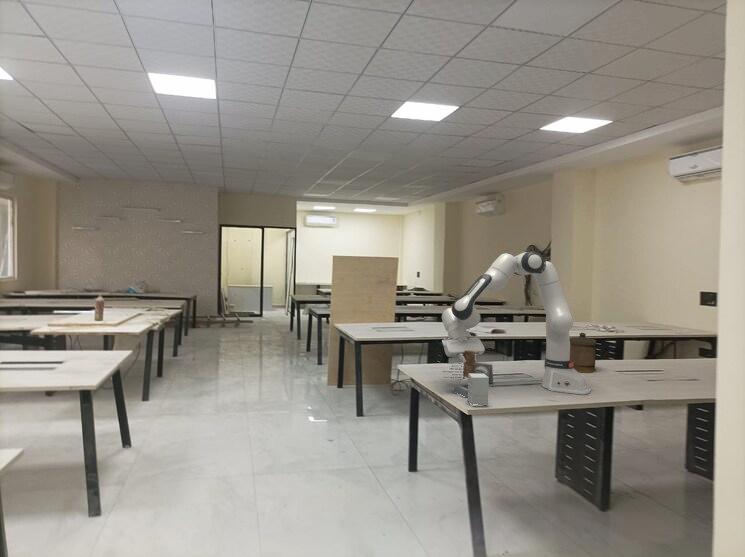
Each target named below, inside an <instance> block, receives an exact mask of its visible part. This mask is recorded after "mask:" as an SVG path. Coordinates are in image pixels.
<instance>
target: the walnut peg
mask: <svg viewBox="0 0 745 557" xmlns="http://www.w3.org/2000/svg"><path fill="white" fill-rule="evenodd" d="M463 357H464V358H466V359H467V361H468V362H467V363H464V364H463V366H464V367H463V368H464V370H463V371H464V373H463V374H464V376H463V377H464V378H467V379H468V373H474V374H475V351H472V350H467V351H465V353H464V356H463Z"/></svg>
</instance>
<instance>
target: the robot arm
mask: <svg viewBox="0 0 745 557" xmlns="http://www.w3.org/2000/svg"><path fill="white" fill-rule="evenodd" d="M514 274H515V275H516V276H517V275H518V276H528V275H532V276H533V278H534V280H535V283H536V287H537V291H538V294H539V298H540V301H541V304H542V306H543V310H544V312H545V315H546V316H545V336H546V338H545V340H546V346H545V347H546V348H545V349H546V350H545V358H544V375H543V379H542V382H541V387H542V388H544V389H547V390H549V391H551V392H558V393H567V394H575V395H582V396H583V395H589V394H590V393H591V388H590V387H589V386H587V385H586V378H585V377H584V376H583V375H582V374H581V372H577V371H576V370H575V369H574V362H572V361H571V360H570V339H569V338H570V331H571V329H572V328H573V326H574V320H573V316H572V314H571V310H570V307H569V305H568V302H567V300H566V297H565V293H564V291H563V287H562V284H561V283H562V282H561V281H560V277H559V274H558V271H557V269H556V268H555V265H554V263H553V262H551V261H547V260H545V259H544V258H543V256H542V254H540V253H539V252H537V251H532V250H531V251H526V252H521V253H519V254H517V255H512V254H510V253H506V252H505V253H502V254H500V255H499V256H498V257H497V258H496V259H495V260H494V261H493V262H492V264H491V265H490V266H489V268H488V269H487V270H486V271H485V273H484V274H482V275H480V276H479V277H478V278H477V279H476V280H475V281H474V282H473V283H472V285H471V286H470V287H469V288H468V289H467V290H466V291H465V293H464V294H463V295H461V296H460V297H458V298H457V299H456V300H455V301H454V302H453V303H452V305H451V307H448V308H447V309H445V310H443V312H442V314H441V319H442V320H441V321H442V324H443V327H444V330H445V331H446V332H447V337H448V338H445V337H444V338H443V339H442V340H441V344H442V346H443V349H444V353H445V355H446V356H447V357H448V358H449V357H452V358H453V357H458V358H459V360H460V361H462V364H463V363H467V362H468V361H467V359H466V358H464V353H465V351H467V350H472V351H475V363H476V362H477V358H476V357H477V356H481V355H483V354H484V353H485V351H486V349H485V346H484V345H483V342H482V340H481V339H480V338H478V337H479V336H478V333H476V332H473V331H469V329H471V328H474V327H476V326H478V325H479V323H480V322H481V319H482V318H481V314H480V312H479V311H478V309H476V307H475V303H476V302H477V300H479V298H480V297H481V296H482V294H483V293H484V292H485V291H487V290H492V291H500V290H502V289H503V288H504V287H505V286H506V285H507V283H508V282H509V280H510V279H511V278H512V276H513V275H514Z"/></svg>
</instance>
